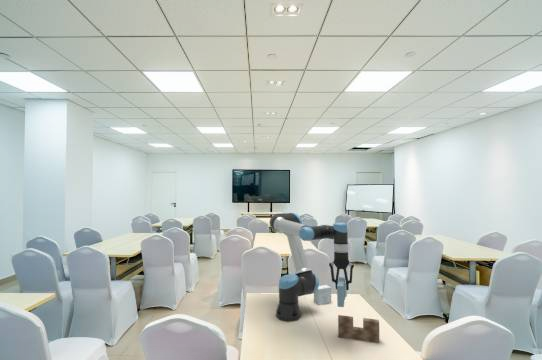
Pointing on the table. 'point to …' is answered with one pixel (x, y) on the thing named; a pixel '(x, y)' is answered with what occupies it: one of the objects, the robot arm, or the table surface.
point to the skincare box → (322, 295)
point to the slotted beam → (358, 329)
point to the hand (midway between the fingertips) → (342, 295)
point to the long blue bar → (341, 292)
